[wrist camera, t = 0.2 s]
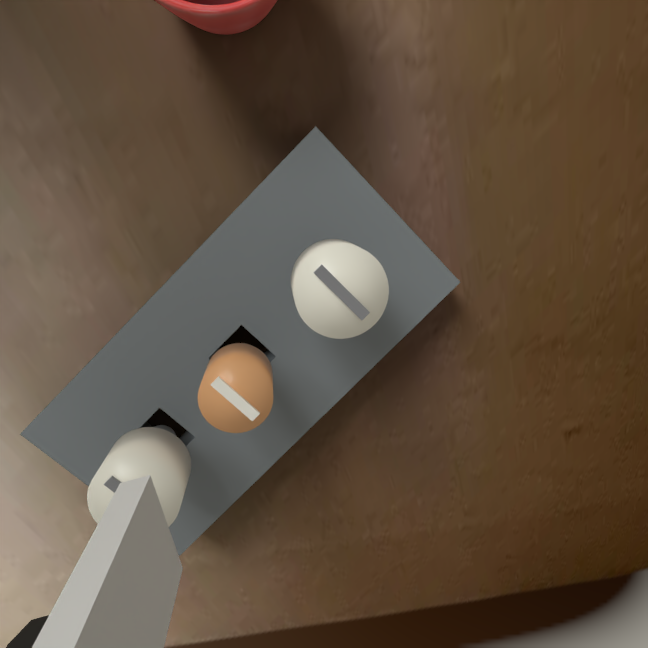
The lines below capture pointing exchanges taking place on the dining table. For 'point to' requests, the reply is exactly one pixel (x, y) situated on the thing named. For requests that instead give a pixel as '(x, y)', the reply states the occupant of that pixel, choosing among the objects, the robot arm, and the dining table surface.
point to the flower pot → (220, 13)
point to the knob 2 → (339, 288)
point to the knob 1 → (143, 469)
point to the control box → (259, 319)
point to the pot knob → (236, 388)
